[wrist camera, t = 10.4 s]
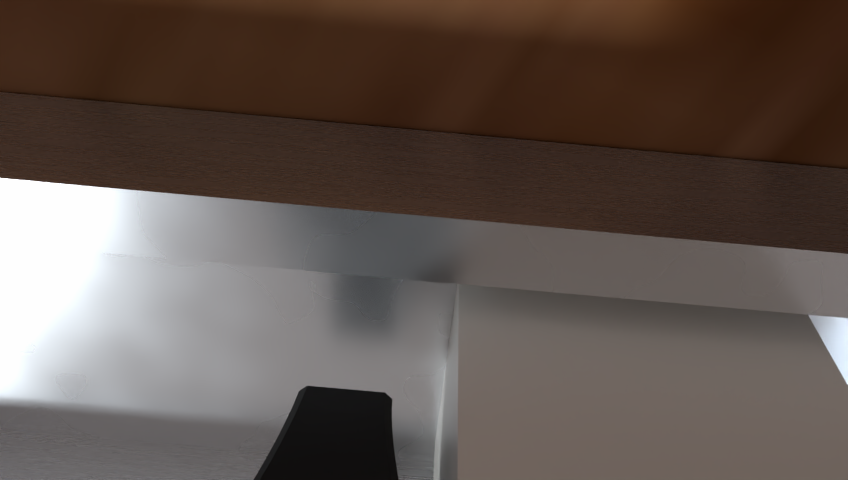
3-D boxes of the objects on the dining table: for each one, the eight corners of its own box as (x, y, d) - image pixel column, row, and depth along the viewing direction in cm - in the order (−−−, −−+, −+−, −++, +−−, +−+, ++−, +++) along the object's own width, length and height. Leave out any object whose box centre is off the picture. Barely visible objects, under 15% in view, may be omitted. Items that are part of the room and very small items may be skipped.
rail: (-168, 76, 11) (-580, 321, 6) (1206, 201, 11) (1673, 513, 7) (-33, 408, 15) (-229, 691, 11) (966, 493, 15) (1163, 800, 11)
